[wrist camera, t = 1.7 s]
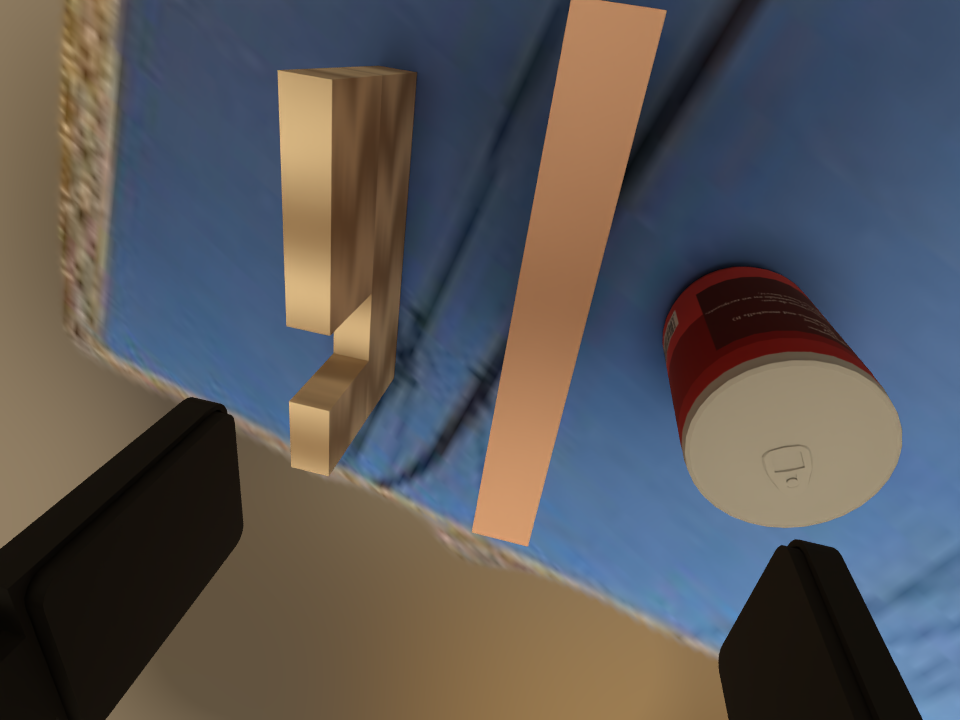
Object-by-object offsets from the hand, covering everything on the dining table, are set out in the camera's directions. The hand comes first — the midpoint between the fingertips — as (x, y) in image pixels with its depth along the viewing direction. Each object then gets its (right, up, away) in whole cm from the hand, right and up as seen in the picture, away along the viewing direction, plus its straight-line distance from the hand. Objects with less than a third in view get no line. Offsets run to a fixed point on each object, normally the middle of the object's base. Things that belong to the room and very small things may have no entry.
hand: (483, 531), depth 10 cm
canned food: (+14, +5, +22) cm, 26 cm away
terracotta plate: (+5, +11, +20) cm, 23 cm away
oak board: (-5, +10, +23) cm, 25 cm away
